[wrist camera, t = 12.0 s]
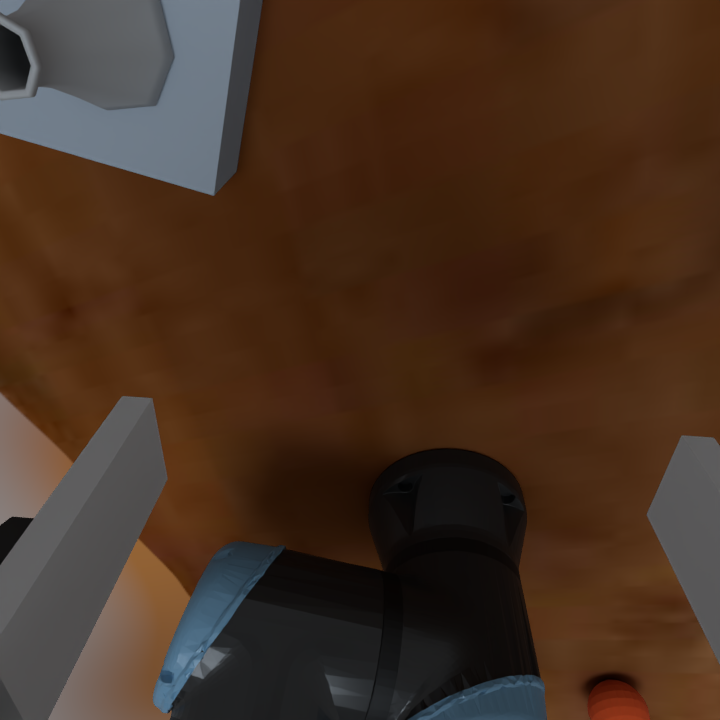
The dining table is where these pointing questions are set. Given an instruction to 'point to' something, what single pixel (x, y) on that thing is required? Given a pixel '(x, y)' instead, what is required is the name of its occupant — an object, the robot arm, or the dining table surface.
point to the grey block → (161, 103)
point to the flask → (86, 51)
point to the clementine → (616, 702)
